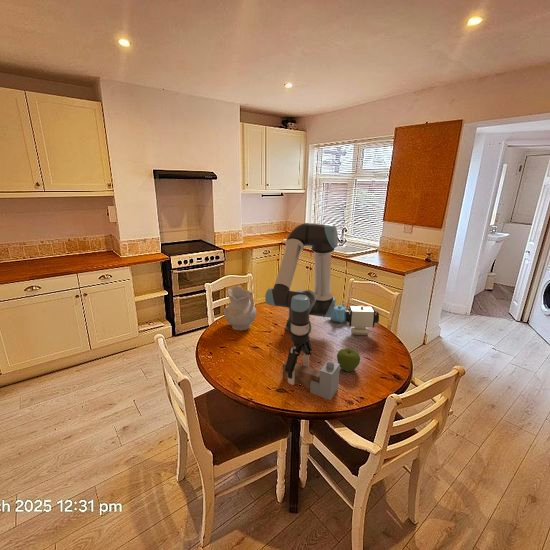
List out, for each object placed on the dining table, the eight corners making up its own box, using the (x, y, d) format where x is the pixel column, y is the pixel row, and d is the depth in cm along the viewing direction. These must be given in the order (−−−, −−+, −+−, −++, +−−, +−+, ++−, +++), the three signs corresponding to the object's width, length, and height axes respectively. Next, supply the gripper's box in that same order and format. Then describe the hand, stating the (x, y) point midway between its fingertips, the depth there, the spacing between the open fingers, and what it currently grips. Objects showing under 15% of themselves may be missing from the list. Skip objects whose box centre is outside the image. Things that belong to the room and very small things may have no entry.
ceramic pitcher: (265, 327, 184) (266, 288, 178) (246, 337, 168) (246, 295, 162) (238, 319, 195) (238, 282, 189) (217, 328, 179) (217, 288, 173)
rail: (282, 377, 133) (282, 364, 131) (287, 373, 136) (287, 360, 134) (319, 392, 124) (320, 377, 122) (323, 387, 127) (324, 372, 125)
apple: (334, 362, 145) (335, 344, 142) (356, 362, 145) (357, 344, 142) (338, 375, 135) (339, 356, 132) (361, 376, 134) (363, 357, 131)
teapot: (352, 324, 185) (353, 309, 182) (332, 326, 183) (333, 310, 180) (343, 315, 197) (344, 301, 194) (324, 317, 195) (325, 302, 192)
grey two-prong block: (310, 392, 124) (311, 362, 120) (318, 381, 131) (320, 352, 127) (330, 400, 119) (332, 369, 115) (338, 388, 126) (340, 358, 122)
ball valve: (373, 331, 176) (376, 303, 171) (377, 338, 168) (380, 309, 162) (342, 330, 177) (344, 302, 172) (344, 336, 169) (346, 308, 164)
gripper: (292, 347, 112) (292, 394, 119) (320, 322, 133) (318, 363, 139) (276, 341, 116) (276, 387, 123) (305, 318, 136) (304, 358, 143)
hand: (298, 375), depth 131 cm, fingers open, 13 cm apart
